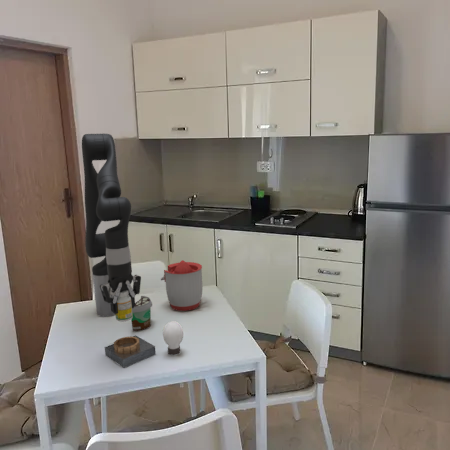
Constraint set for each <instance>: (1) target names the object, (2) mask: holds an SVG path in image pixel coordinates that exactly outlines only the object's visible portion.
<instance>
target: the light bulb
mask: <svg viewBox="0 0 450 450" xmlns="http://www.w3.org/2000/svg"><path fill="white" fill-rule="evenodd" d="M162 337H163V341H164V343H165V344H166V345H167V346H168V347H167V355H170V356H177V355H179V354H181V343H182V342H183V339H184V330H183V327H182V325H181V324H180V323H179V322H178V321H175V320H172V321H171V320H170V321H168V322H167V323H166V324H165V325H164V327H163V330H162Z"/></svg>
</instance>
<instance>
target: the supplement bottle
mask: <svg viewBox="0 0 450 450" xmlns="http://www.w3.org/2000/svg"><path fill="white" fill-rule="evenodd" d="M128 294H129V293H128V290H126V291H122V292H120V293H119V296H118V297H117V301H116V303H117V308H118V313H117V314H115V319H116V321H117V322H120V323H124V322H130V321H131V319H132V318H133V315H132V304H131V297H130V296H129V295H128Z"/></svg>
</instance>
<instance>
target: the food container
mask: <svg viewBox="0 0 450 450" xmlns="http://www.w3.org/2000/svg"><path fill="white" fill-rule="evenodd" d="M152 307H153V302H152V300H151V298H150V297H148V296H145V295H141V296H140V299H138V300H137V301H135V306H134V308H132V315H133V318H132V319H131V320H130V321H131V327H132V332H140V331H144V330H147V329H149V328H150V327H151V325H152V324H151V321H152V319H151V318H152V315H151V312H152V311H151V310H152V309H151V308H152Z"/></svg>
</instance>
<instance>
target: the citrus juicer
mask: <svg viewBox="0 0 450 450" xmlns="http://www.w3.org/2000/svg"><path fill="white" fill-rule="evenodd" d="M202 269H203V266H202V264H200V263H198V262H191V261H185V260H180V262H175V263H171V264H168V265H167V270H166V269H163V276H162V277H161V278H160V281H164V282H165V290H166V295H167V296H166V297H167V300H168V302H169V305H170V307H171V308H172V310H174V311H180V312H182V311H185V312H186V311H194V310H195V309H197V308H198V307H200V305H201V302H202V296H203V272H202V271H203V270H202Z"/></svg>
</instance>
